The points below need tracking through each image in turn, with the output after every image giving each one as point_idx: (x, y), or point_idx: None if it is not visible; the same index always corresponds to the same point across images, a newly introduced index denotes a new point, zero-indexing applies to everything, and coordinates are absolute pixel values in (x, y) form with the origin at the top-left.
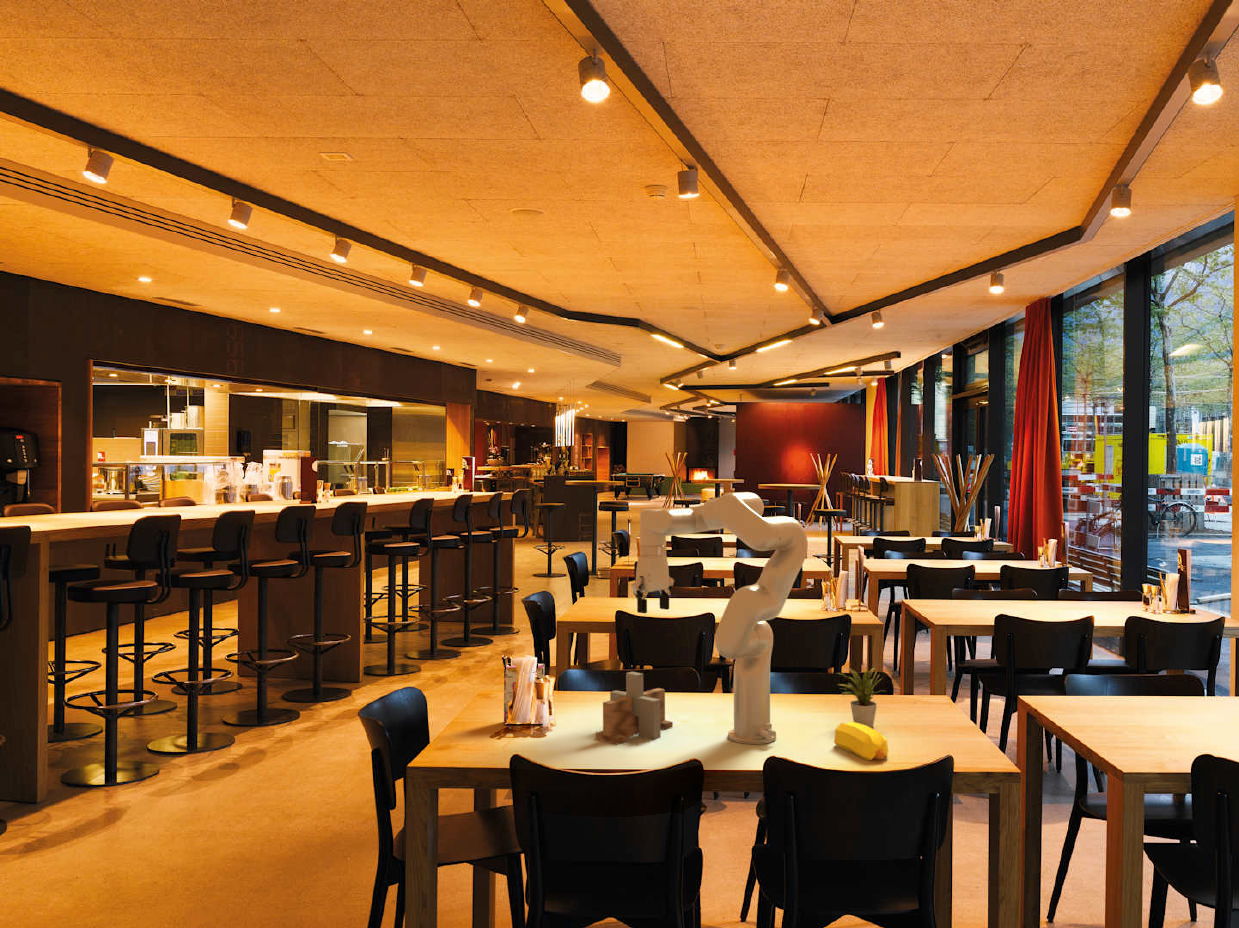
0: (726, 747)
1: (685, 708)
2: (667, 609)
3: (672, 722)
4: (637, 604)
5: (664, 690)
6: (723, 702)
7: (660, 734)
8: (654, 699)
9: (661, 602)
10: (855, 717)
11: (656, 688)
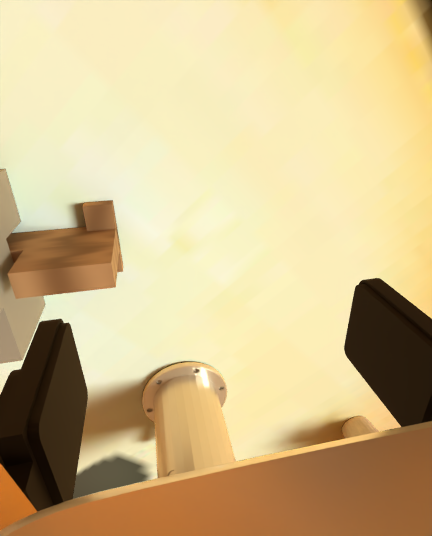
0: (108, 406)
1: (275, 164)
2: (348, 346)
3: (122, 270)
4: (21, 373)
5: (114, 285)
6: (375, 189)
7: (43, 307)
8: (7, 352)
9: (385, 332)
10: (348, 437)
11: (103, 263)
